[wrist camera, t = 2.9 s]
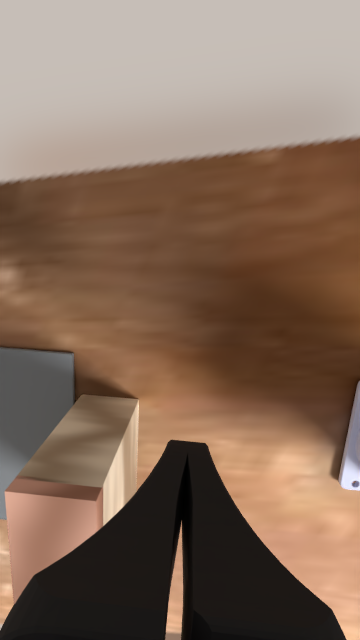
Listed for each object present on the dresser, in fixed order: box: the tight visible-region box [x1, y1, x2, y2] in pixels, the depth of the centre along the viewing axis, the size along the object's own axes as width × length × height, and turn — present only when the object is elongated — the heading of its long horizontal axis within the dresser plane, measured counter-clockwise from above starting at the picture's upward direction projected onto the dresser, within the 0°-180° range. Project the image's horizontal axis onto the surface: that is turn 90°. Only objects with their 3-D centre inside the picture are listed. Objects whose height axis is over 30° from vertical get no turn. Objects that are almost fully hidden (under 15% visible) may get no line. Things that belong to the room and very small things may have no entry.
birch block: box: [5, 394, 139, 604], centre depth 20 cm, size 4×8×9 cm, turn 177°
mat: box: [0, 347, 75, 520], centre depth 24 cm, size 10×14×1 cm
